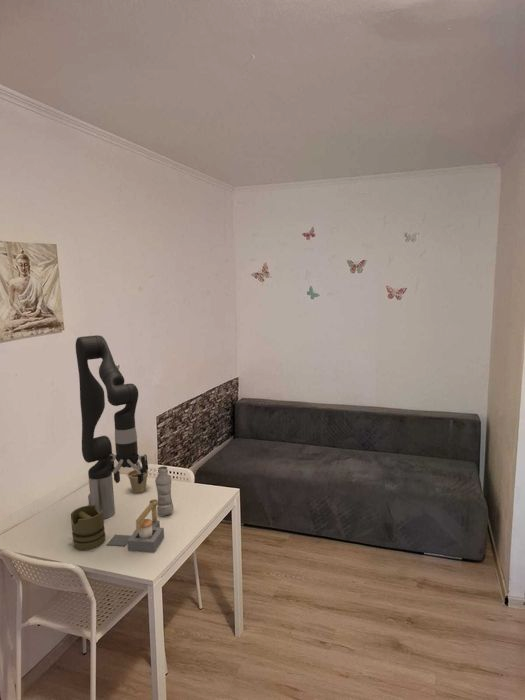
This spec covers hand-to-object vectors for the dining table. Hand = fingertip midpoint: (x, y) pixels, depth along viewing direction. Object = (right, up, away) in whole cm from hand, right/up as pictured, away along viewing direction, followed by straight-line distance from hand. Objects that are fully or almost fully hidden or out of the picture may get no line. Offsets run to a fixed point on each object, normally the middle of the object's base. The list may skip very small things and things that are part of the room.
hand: (129, 482), depth 175 cm
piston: (-16, -24, +6) cm, 30 cm away
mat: (-5, -24, +6) cm, 25 cm away
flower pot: (-9, -17, +49) cm, 53 cm away
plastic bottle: (+8, -20, +26) cm, 34 cm away
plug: (+5, -24, +4) cm, 25 cm away
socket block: (+6, -23, +6) cm, 25 cm away
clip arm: (+6, -15, +5) cm, 17 cm away
